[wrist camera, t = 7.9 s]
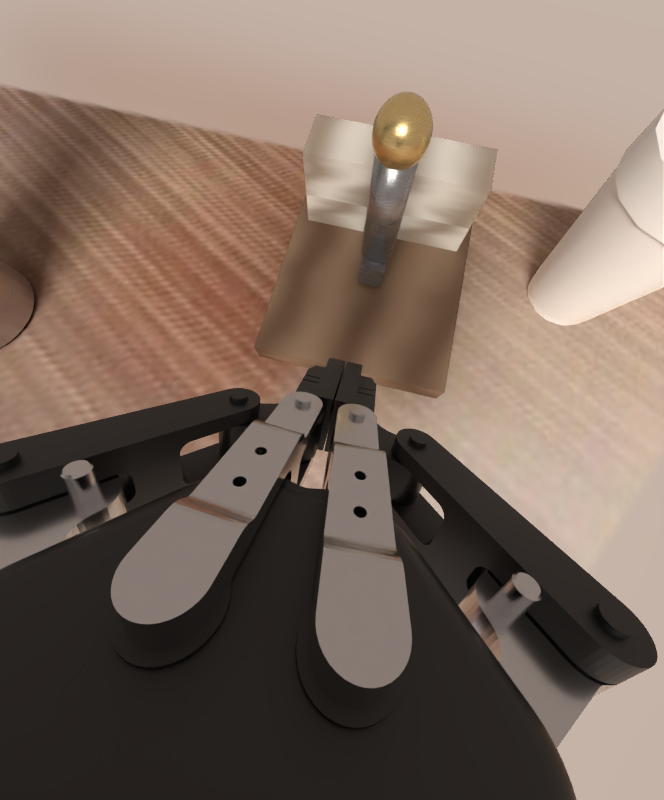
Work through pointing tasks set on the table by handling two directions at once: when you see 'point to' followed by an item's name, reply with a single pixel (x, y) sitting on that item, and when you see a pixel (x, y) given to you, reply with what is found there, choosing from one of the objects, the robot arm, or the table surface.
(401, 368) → the board
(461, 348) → the table surface
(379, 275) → the gold knob lever
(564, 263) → the foam cup
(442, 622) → the robot arm
